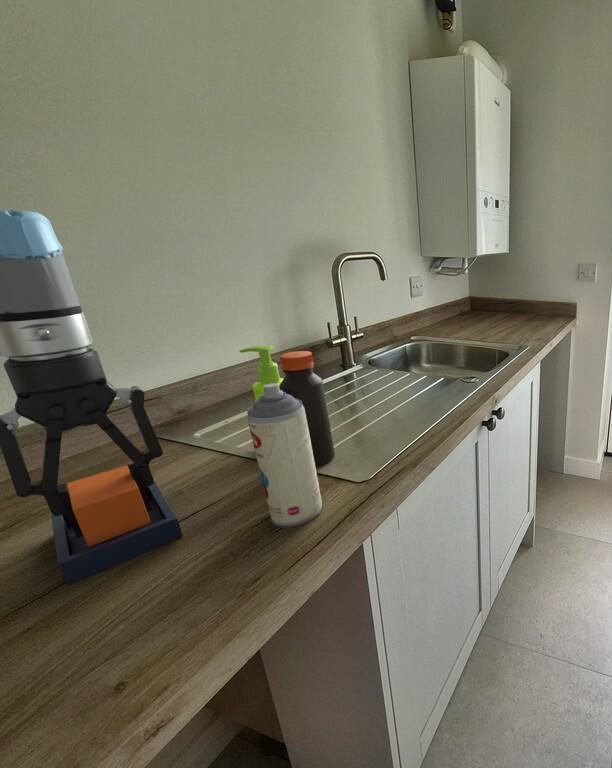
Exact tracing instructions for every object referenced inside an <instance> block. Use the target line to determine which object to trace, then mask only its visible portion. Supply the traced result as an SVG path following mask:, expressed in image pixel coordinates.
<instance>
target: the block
mask: <svg viewBox="0 0 612 768" xmlns="http://www.w3.org/2000/svg"><path fill="white" fill-rule="evenodd" d="M66 486H67V488H68V491H69V494H70V498H71V505H72V509H73V512H74V514H75V517H76V519H77V521H78V524H79V526H80V528H81V531H82V533H83V535H84V538H85V540H86V543H87V545H88V547H91V546H93V545H96V544H99V543H101V542H104V541H106V540H109V539H112V538H114V537H117V536H119V535H122V534H124V533H127V532H130V531H132V530H135V529H137V528H140V527H143V526H145V525H148V524H150V523H151V522H150V519H149V516H148V513H147V510H146V508H145V505H144V502H143V499H142V496H141V494H140V491H139V488H138V486H137V484H136V482H135V480H134V479H133V477H132V475H131V473H130V471H129V468H128V465H124V466H120V467H117V468H113V469H111V470H107V471H103V472H100V473H97V474H94V475H90V476H86V477H84V478H80V479H77V480H73V481H70V482H67V483H66Z"/></svg>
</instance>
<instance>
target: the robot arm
mask: <svg viewBox="0 0 612 768" xmlns="http://www.w3.org/2000/svg"><path fill="white" fill-rule="evenodd" d="M56 235H57V234H56V233H55V230H54V229H53V226H52V223H51V221H50V220H49V219H48V218H47V217H46V216H45V215H43V214H41V213H40V212H36V211H31V210H21V209H3V208H0V356H1V357H4V358H7V360H5V361H4V363H3V368H4V370H5V372H6V375H7V378H8V380H9V382H10V384H11V387H12V388H13V391H14V393H15V396H16V401H15V403H14V407H13V408H10V409H8V410H4V411H3V412H0V449H1V452H2V455H3V458H4V461H5V464H6V467H7V470H8V473H9V476H10V479H11V482H12V485H13V487H14V490H15V493H16V496H17V497H20V498H27V497H29V496H42V497H44V500H45V502H46V503H47V506H48V508H49V511H50V513H51V515H54V516H55V517H57V516H60V515H63V514H66V513H67V515H68V517H69V520H70V522H71V524H72V527H73V529H74V531H75V534H76V536H77V538H78V537H80V536H83V533H82V531H81V528H80V526H79V524H78V521H77V519H76V517H75V514H74V512H73V509H72V505H71V498H70V494H69V491H68V487H67V483H66V482H64V483H61V484H58V483H59V482H58V481H59V468H60V457H61V446H62V445H61V444H62V438H63V432H66V431H67V432H68V431H70V430H73V429H75V428H76V429H77V428H78V427H83V426H84V427H88V426H93V425H96V426H98V427H99V428H100V430H102V431H103V432H104V433H105V434H106V435H107V436H108V437H109V438H110V439H111V440H112V442H114V444H116V445H117V447H118V448H119V449H120V450H121V451H122V452H123V453H124V454H125V455H126V456H127V457H128V458H129V459H130V460H131V461H132V463H128V464H127V467H128V469H129V471H130V473H131V475H132V477H133V479H134V480H135V482H136V484H137V486H138V488H139V491H140V494H141V496H142V499H143V502H144V505H145V508H146V510H147V512H148V511H151V510H152V507H151V504H150V501H149V499H148V496H147V493H146V490H145V487H147V486H150V485H153V483H154V481H155V480H154V477H153V474H152V471H151V467H150V462H152V461H153V460H154V459H158V458H160V457H162V456H163V454H164V451H163V449H162V446H161V444H160V442H159V439H158V437H157V435H156V432H155V430H154V427H153V425H152V423H151V420H150V418H149V416H148V413H147V412H146V409H145V397H146V394H145V392H144V390H143V389H142V388H141V387H139V386H137V385H134V386H131V387H130V388H129V387H128V388H127V387H115V386H114V385H112V384H111V383H110V382H109V381H108V379H107V377H106V373H105V371H104V368H103V364H102V362H101V359H100V357H99V354H98V351H97V350H94V348H89V347H91V346H92V345H93V344H94V339H93V336H92V334H91V331H90V328H89V325H88V321H87V319H86V317H85V313H84V312H83V309H82V307H81V304H80V300H79V297H78V295H77V291H76V288H75V285H74V282H73V279H72V276H71V273H70V270H69V267H68V264H67V261H66V259H65V255H64V247H63V245H62V244H61V243H60V242H59V240H58V238H57V236H56ZM116 398H119V399H120V400H121V402H122V404H124V405H126V406H128V407H129V410H130V412H131V414H132V416H133V419H134V421H135V423H136V426H137V428H138V430H139V432H140V435H141V437H142V439H143V441H144V444H145V446H146V449H144V450H142V451H141V450H140V449H139V448H138V447H137V445H135V444H134V442H133V441H132V440H131V439H130V438H129V437H128V436H127V435H126V434H125V432H124V431H122V430H121V428H120V427H119V426H118V425H117V424H116V423H115V422H114V420H112V418H111V417H110V416H109V415H108V414H107V413H108V411H109V409H110V408H111V405H112V404H113V403H114V401H115V399H116ZM21 417H23V418H25V419H26V420H29V421H31V422H33V423H35V424H38V425H39V426H42V427H44V441H43V454H42V465H41V479H40V480H32V479H31V475H30V473H29V470H28V467H27V464H26V461H25V457H24V455H23V452H22V448H21V445H20V442H19V439H18V436H17V434H16V430H17V429H18V428H19V421H18V420H19V419H20V418H21Z"/></svg>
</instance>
